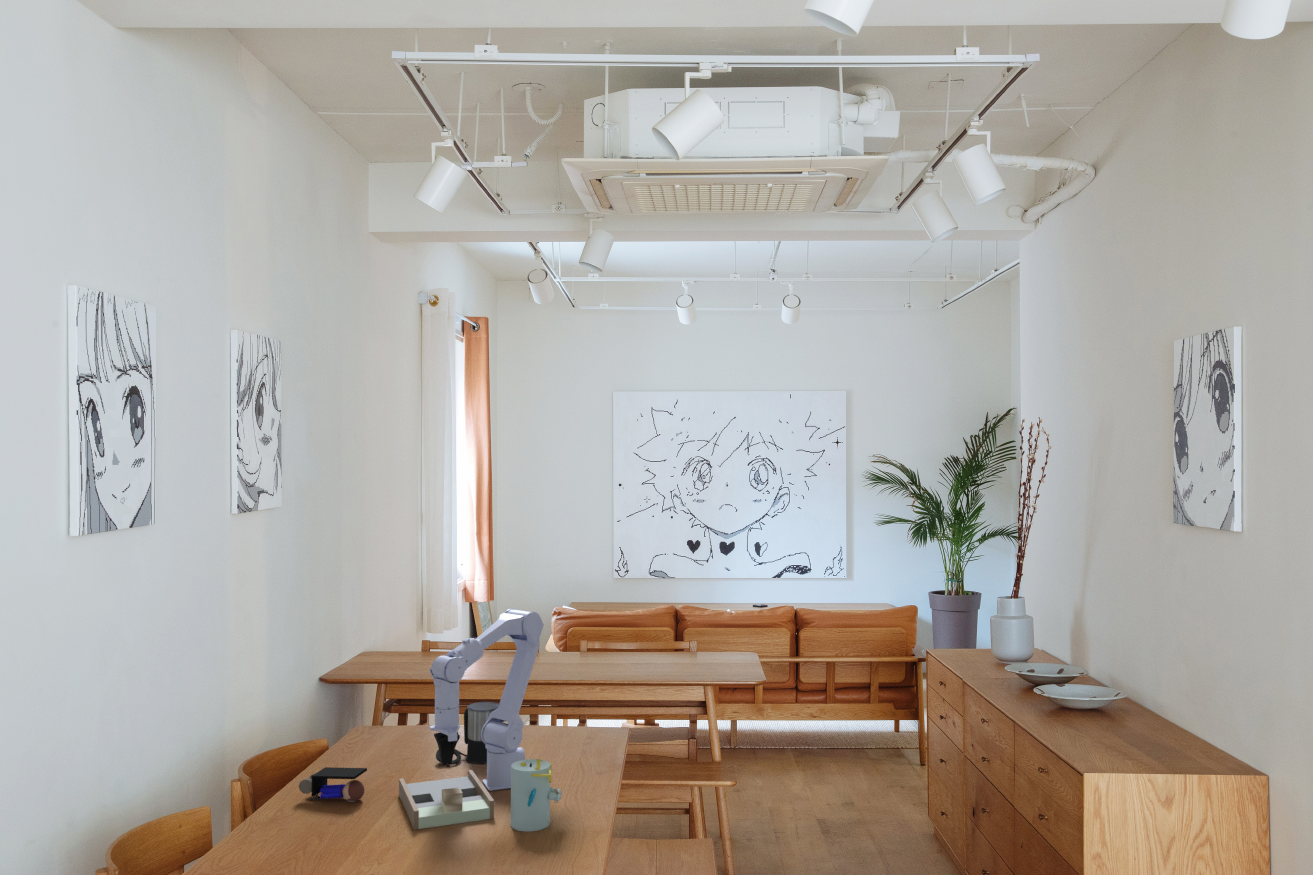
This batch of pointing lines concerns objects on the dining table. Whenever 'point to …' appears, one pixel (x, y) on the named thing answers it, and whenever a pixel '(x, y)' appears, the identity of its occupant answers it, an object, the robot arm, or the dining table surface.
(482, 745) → the milk frother
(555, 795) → the pale blue upright cylinder
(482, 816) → the box
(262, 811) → the dining table surface
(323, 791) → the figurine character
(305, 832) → the dining table surface
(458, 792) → the block
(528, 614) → the robot arm
